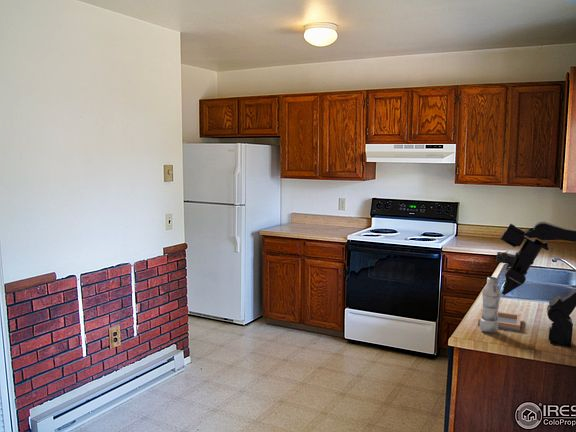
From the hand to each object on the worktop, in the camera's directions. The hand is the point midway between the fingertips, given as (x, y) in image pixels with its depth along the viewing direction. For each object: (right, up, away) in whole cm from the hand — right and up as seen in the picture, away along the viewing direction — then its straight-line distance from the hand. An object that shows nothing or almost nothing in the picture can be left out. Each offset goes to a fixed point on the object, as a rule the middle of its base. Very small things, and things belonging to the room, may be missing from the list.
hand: (503, 291), depth 176 cm
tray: (+4, -14, +14) cm, 20 cm away
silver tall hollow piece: (-4, -15, +4) cm, 16 cm away
